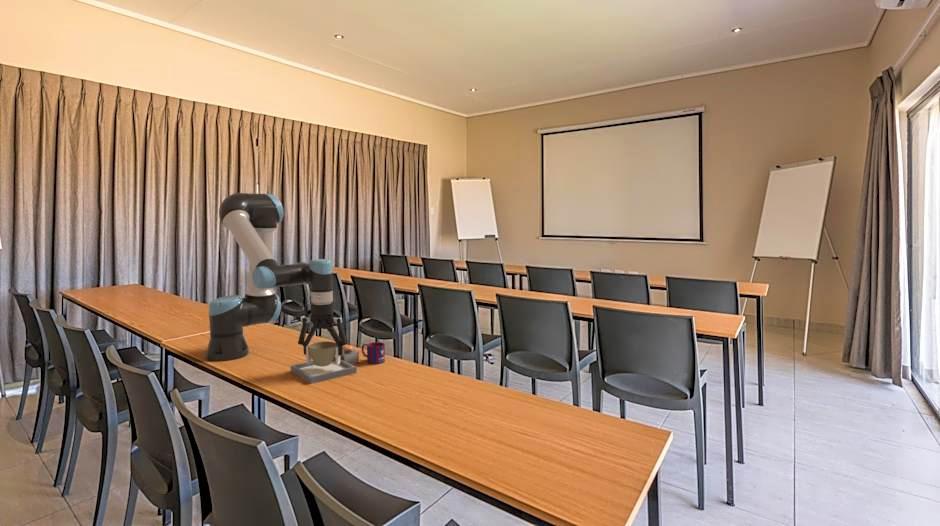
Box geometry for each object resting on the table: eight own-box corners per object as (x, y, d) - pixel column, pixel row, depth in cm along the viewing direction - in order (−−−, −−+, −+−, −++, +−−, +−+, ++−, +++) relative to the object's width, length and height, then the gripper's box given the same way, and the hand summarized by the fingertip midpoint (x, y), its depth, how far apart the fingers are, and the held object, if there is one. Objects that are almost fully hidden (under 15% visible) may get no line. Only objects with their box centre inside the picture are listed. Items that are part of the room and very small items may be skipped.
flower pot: (313, 370, 160) (312, 350, 159) (305, 362, 168) (305, 343, 167) (341, 365, 165) (341, 346, 164) (333, 358, 173) (332, 339, 173)
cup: (376, 365, 174) (376, 347, 174) (357, 360, 180) (357, 343, 179) (388, 360, 180) (388, 343, 179) (369, 356, 185) (369, 339, 185)
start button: (340, 355, 178) (340, 346, 178) (350, 353, 181) (349, 344, 180) (345, 357, 175) (345, 349, 175) (355, 355, 178) (355, 347, 177)
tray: (291, 371, 167) (290, 365, 167) (334, 361, 179) (334, 356, 179) (311, 383, 155) (310, 377, 155) (356, 372, 166) (356, 366, 166)
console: (337, 361, 178) (336, 351, 178) (351, 358, 182) (351, 348, 182) (344, 365, 174) (344, 355, 174) (358, 362, 178) (358, 352, 178)
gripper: (286, 304, 161) (288, 366, 163) (350, 305, 160) (351, 367, 162) (295, 300, 168) (297, 359, 171) (356, 301, 167) (357, 361, 170)
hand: (323, 363), depth 166 cm, fingers closed on flower pot, 10 cm apart
